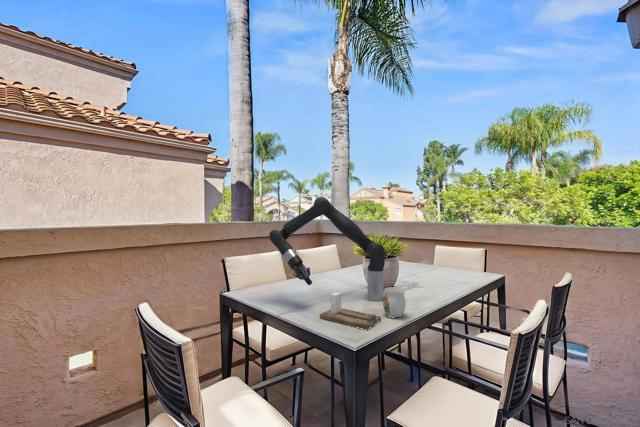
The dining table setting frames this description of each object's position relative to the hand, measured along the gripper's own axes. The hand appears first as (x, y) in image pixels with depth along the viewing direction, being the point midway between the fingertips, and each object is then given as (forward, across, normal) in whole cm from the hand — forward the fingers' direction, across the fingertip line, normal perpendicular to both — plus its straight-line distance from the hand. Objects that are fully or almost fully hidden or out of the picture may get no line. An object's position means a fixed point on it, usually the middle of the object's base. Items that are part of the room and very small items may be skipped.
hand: (310, 284), depth 165 cm
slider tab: (+19, 0, -3) cm, 20 cm away
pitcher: (+38, +18, -17) cm, 45 cm away
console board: (+27, 0, -7) cm, 28 cm away
